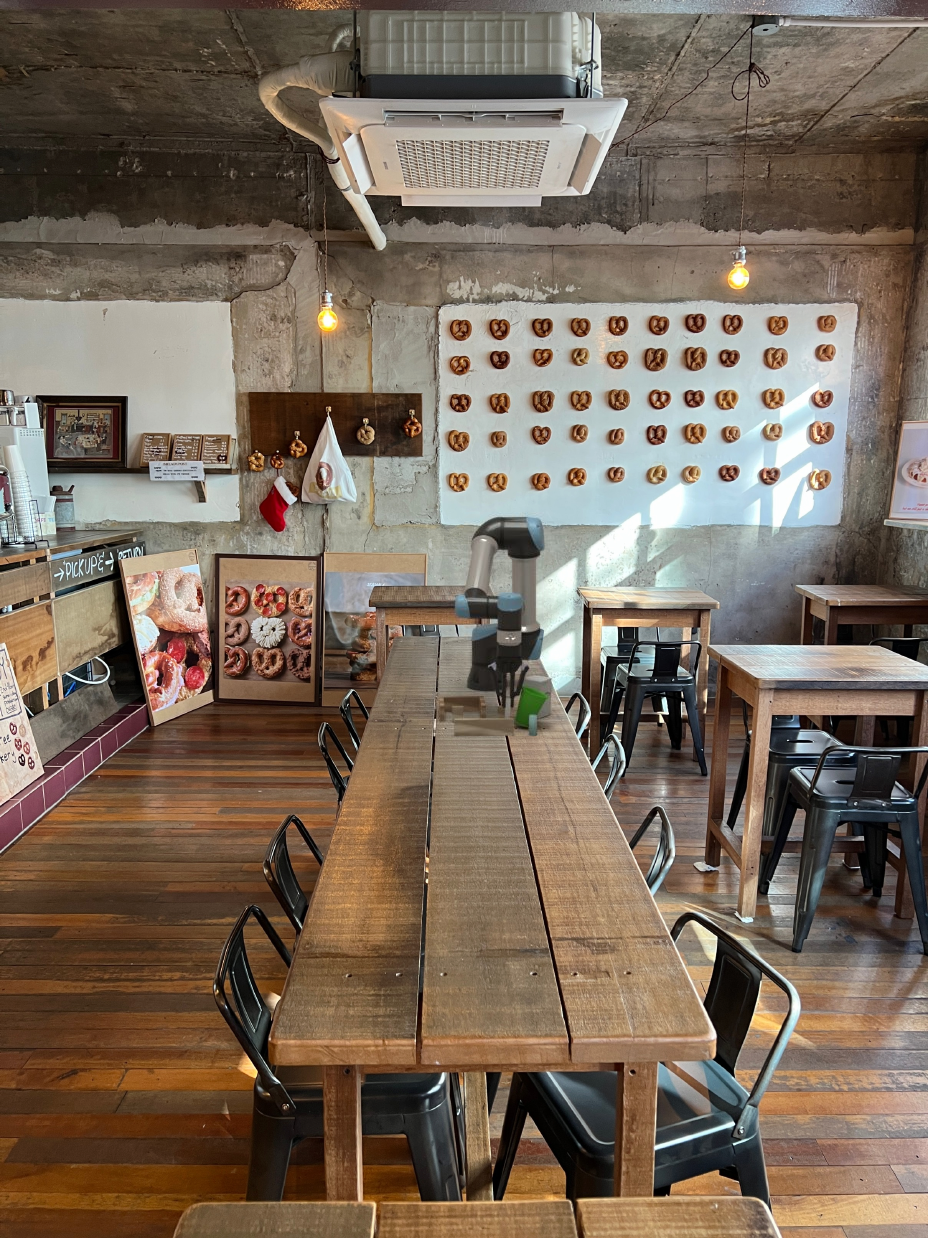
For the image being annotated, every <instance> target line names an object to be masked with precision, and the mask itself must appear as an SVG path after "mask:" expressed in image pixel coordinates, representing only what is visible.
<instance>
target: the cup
mask: <svg viewBox="0 0 928 1238" xmlns="http://www.w3.org/2000/svg"><path fill="white" fill-rule="evenodd" d="M546 699H548V696H547V695H545V694H544V693H542V692H540V691H538V690H535V689H533V688H530V687H526V686H522V689H521V693H520V695H519V700H518V704H517V709H516V713H515V717H514V722H515V723H517V724H518V725H520V726H522V727H525V728H529V715H532V714H534V715H537V714H538V712H539V711H540V709H541V707H542V706H543V704H544V702H545V701H546Z"/></svg>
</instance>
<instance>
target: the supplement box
mask: <svg viewBox="0 0 928 1238" xmlns="http://www.w3.org/2000/svg"><path fill="white" fill-rule="evenodd" d="M523 686H526V687H530V688H533V689H535V690H538V691H540V692H542V693H544V694H545V695H547V696H548V699H546V701H545V702H544V704H543V706H542V707H541V709H540V711H539V712H538V714H537V720H540V719H542V718H543V717H547V716H550V715H551V714H552V677H548V676H543V675H535V674H534V675H530V676H527V677H525V678H524V682H523Z"/></svg>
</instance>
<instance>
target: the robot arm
mask: <svg viewBox="0 0 928 1238" xmlns="http://www.w3.org/2000/svg"><path fill="white" fill-rule="evenodd" d="M545 546H546V545H545V534H544V526H543V522H542V520H541V519H540V518H538V517H532V516H531V517H530V516H496V517H492V518H489V519H488V520H487V521H485V522H484V523H482V524H481V525H480V526H479V527H478V528H477V529H476V531H475V532H474V533H473V536H472V537H471V541H470V549H471V551H472V552H471V555H470V556H471V557H470V561H469V562H470V563H469V567H468V571H467V572H468V573H467V575H466V582H465V587H464V593H463V594H457V596H456V597H455V602H454V612H455V613H454V614H455V617H457V618H458V619H465V620H467V619H468V620H470V619H471V620H477V619H478V620H497V623H494V622H493V623H486V624H480V625H477V626H476V627H474V628H473V629H472V632H471V639H470V640H471V666H470V670H469V673H468V677H467V679H466V687H468V689H471V690H475V691H484V692H485V691H486V692H487V691H495V694H496V696H498V697H501V706H502V707H503V708H505V718H511V708H512V709H513V708H514V706H515V698H517V697H520V695H521V691H522V686H523V682H524V678H526V674H527V672H528V671H529V670H530V666H529V665H528V664H526V663H524V662H523V661H527V662H528V661H537V660H539V659H540V658H541V654H542V647H543V640H544V634H545V630H544V629H543V628H541V624H540V623H539V621H537V559H538V558H539V557H540V556H541V552H543V551H544V550H545ZM498 551H507V556H508V558H510V559H511V587H512V588H511V590H512V592H503V593H499V595H488V593H489V586H490V581H491V575H492V569H493V564H494V563H493V562H494V556H495V555H496V554H497V553H498ZM519 669H520V670H521V671H520V674H519V677H518V681H517V685H516V689H515V684H516V683H515V681H516V680H515V679H516V672H517V671H518V670H519ZM508 674H509V696H508V695H507V687H508V678H507V677H508Z"/></svg>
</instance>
